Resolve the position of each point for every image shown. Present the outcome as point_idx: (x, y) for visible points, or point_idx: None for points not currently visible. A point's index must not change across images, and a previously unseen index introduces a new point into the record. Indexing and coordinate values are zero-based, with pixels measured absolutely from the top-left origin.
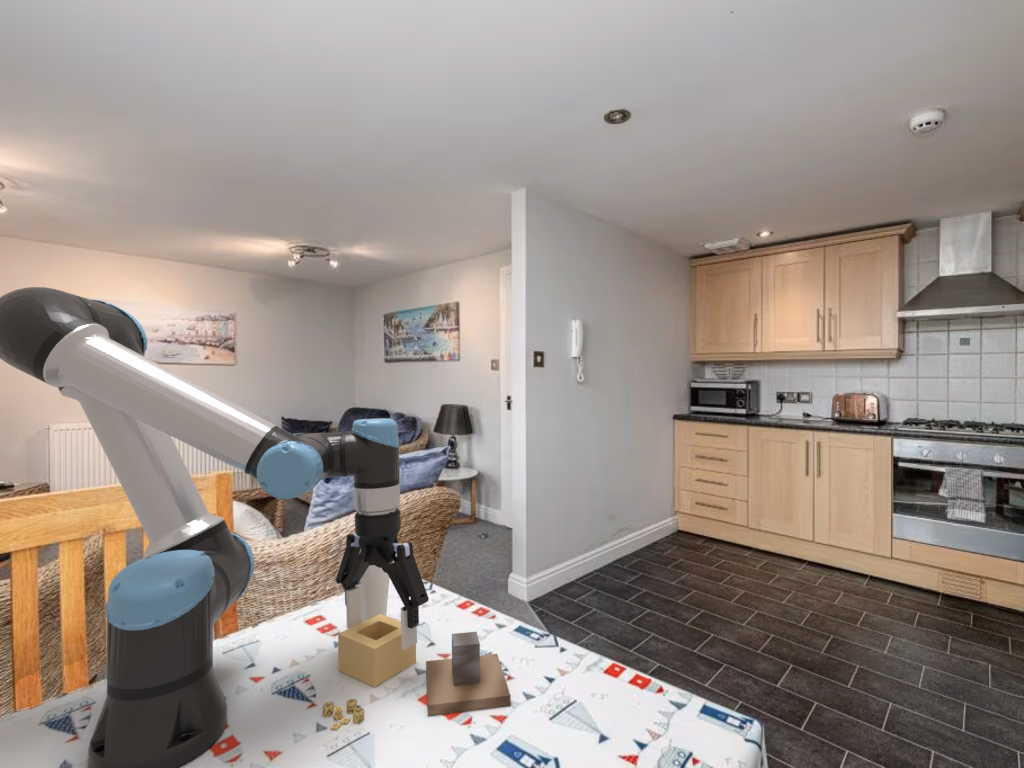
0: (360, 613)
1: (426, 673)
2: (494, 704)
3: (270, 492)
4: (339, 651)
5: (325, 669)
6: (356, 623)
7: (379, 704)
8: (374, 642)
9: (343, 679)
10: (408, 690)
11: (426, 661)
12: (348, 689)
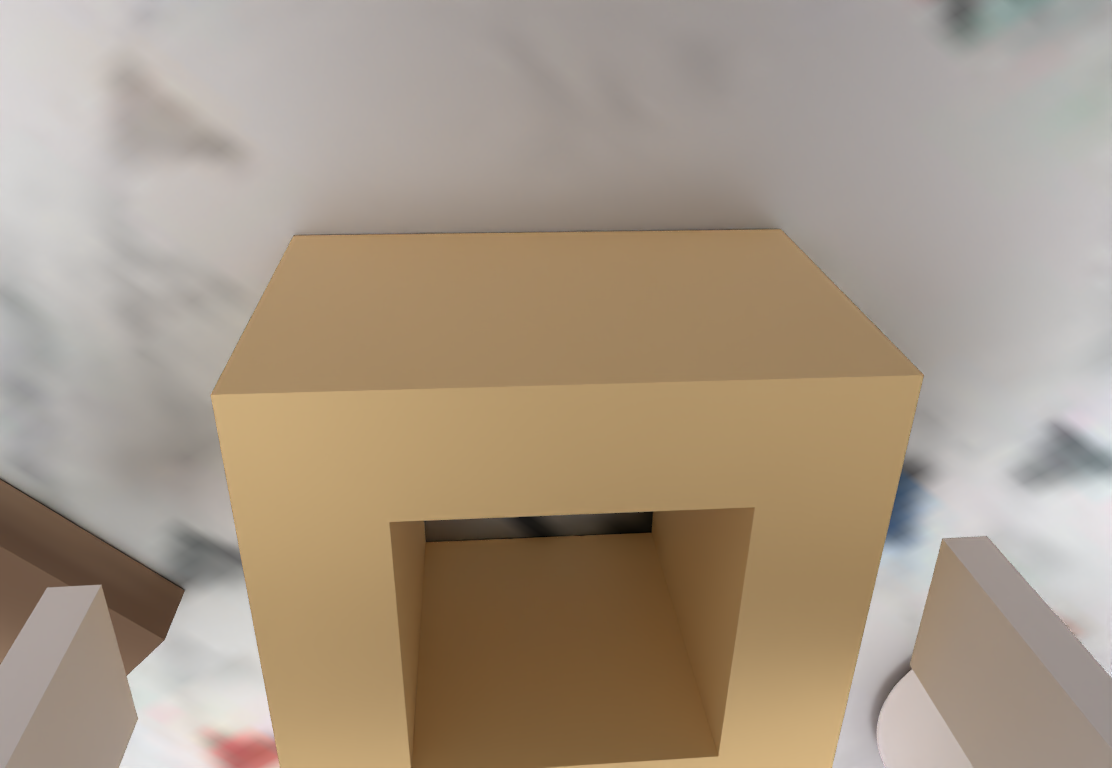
0: (967, 736)
1: (20, 546)
2: None
3: None
4: (823, 292)
5: (891, 173)
6: (935, 626)
7: (34, 94)
8: (356, 483)
9: (627, 163)
10: (43, 362)
11: (155, 638)
12: (461, 87)
